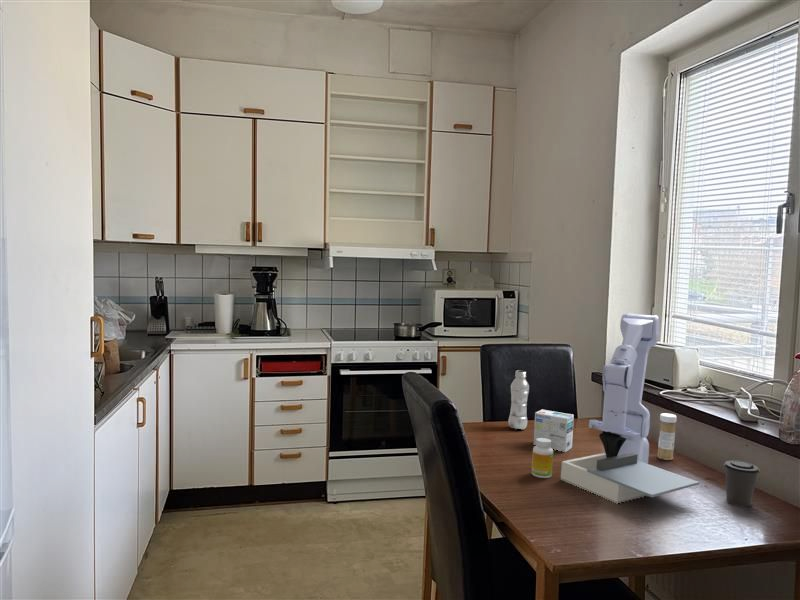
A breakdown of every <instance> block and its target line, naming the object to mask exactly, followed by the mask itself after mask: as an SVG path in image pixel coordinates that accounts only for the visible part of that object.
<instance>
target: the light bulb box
mask: <svg viewBox="0 0 800 600" xmlns="http://www.w3.org/2000/svg"><path fill="white" fill-rule="evenodd" d="M574 416H575V415H574V414H573V413H572V414H571V413H564V412H558V411H554V410H553V411H552V410H547V409H543V408H542V409H540V410H538V411H535V412H534V422H533V423H534V425H533V427H534V429H533V445H536V439H537V438H546V439H550V440H551V446H550V448H552V449H554V450H553V451H556V450H558V451H557V452H561V451H562V452H561V453H567V452H568V451H569V450H571V449H572V448H573V436H574V434H573V433H574V421H575V420H574V418H575V417H574ZM533 445H532V446H533ZM536 446H537V445H536Z"/></svg>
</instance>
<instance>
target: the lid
mask: <svg viewBox="0 0 800 600" xmlns="http://www.w3.org/2000/svg"><path fill="white" fill-rule="evenodd" d="M637 456H638V454H635V453H628V454H624V455H619V456H614V457H609V458H604V459H599V460H597V467H596V468H591V469H587V472H589V473H592V474H594V475H597V476H599V477H602V478H604V479H607V480H609V481H612V482H614V483H617V484H619V485H622V486H624V487H627V488H629V489H632V490H634V491H637V492H639V493H642V494H644V495H647V496H646V497H649V498H655V497H659V496H662V495H666V494H669V493H673V492H677V491H680V490H685V489H688V488H691V487H694V486H698V485H700V481H697V480H694V479H693V478H692V479H691V478H689V477H686V476H683V475H680V474H677V473H675V472H672V471H669V470H666V469H663V468H661V467H657V466H655V465H652V464H649V463H648V464H646V463H644V462H641V461H638V460H637Z"/></svg>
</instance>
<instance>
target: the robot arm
mask: <svg viewBox="0 0 800 600" xmlns="http://www.w3.org/2000/svg"><path fill="white" fill-rule="evenodd" d="M660 320H661V319H660V317H659V316H658V315H657V314H656V315H655V314H654V315H650V314H649V315H648V314H640V313H639V314H637V313H636V314H635V313H628V312H624V313H623V314H622V316H621V319H620V326H619V327H620V332H621V335H622V343H621V345H618V346H617V347H615V350H614V352H613V354H612V357H611V359H610V362H609V363H608V364H605V365H604V367H603V370H602V391H603V392H604V395H603V396H604V397H603V406H602V407H603V408H602V421H601V420H597V419H590V420H588V428H590V429H595V430H599V431H602V433H599V435H598V437H599V439H600V440H601V443H602V445H603V449H604V453H606V458H609V457H614V456H619V455H624V454H628V453H635V454H638V456H637V460H638V461H641V462H644V463H646V464H649V452H650V443H649V440H648V438H647V437H648V435H649V433H650V425H651V423H650V422H651V420H650V419H651V414H650V411H649V409H648V408H647V407H645V405H643V404H642V400H643V399H642V398H643V394H644V393H643V392H644V385H645V379H646V372H647V371H646V370H647V363H648V356H649V353H650V351H651V348H652V347H655V346H657V343H658V341H659V333H660V329H661V327H660V326H661V324H660V323H661V321H660Z"/></svg>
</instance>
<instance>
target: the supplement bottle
mask: <svg viewBox="0 0 800 600" xmlns="http://www.w3.org/2000/svg"><path fill="white" fill-rule="evenodd" d="M536 445H537V446H533V448H532V460H531V475H533V476H534V477H536V478H540V479H550V478H551V477H552V476H553V463H554V460H553V459H554V450H553V449H552V448H550V446H551V440H550V439H546V438H537V439H536Z"/></svg>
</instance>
